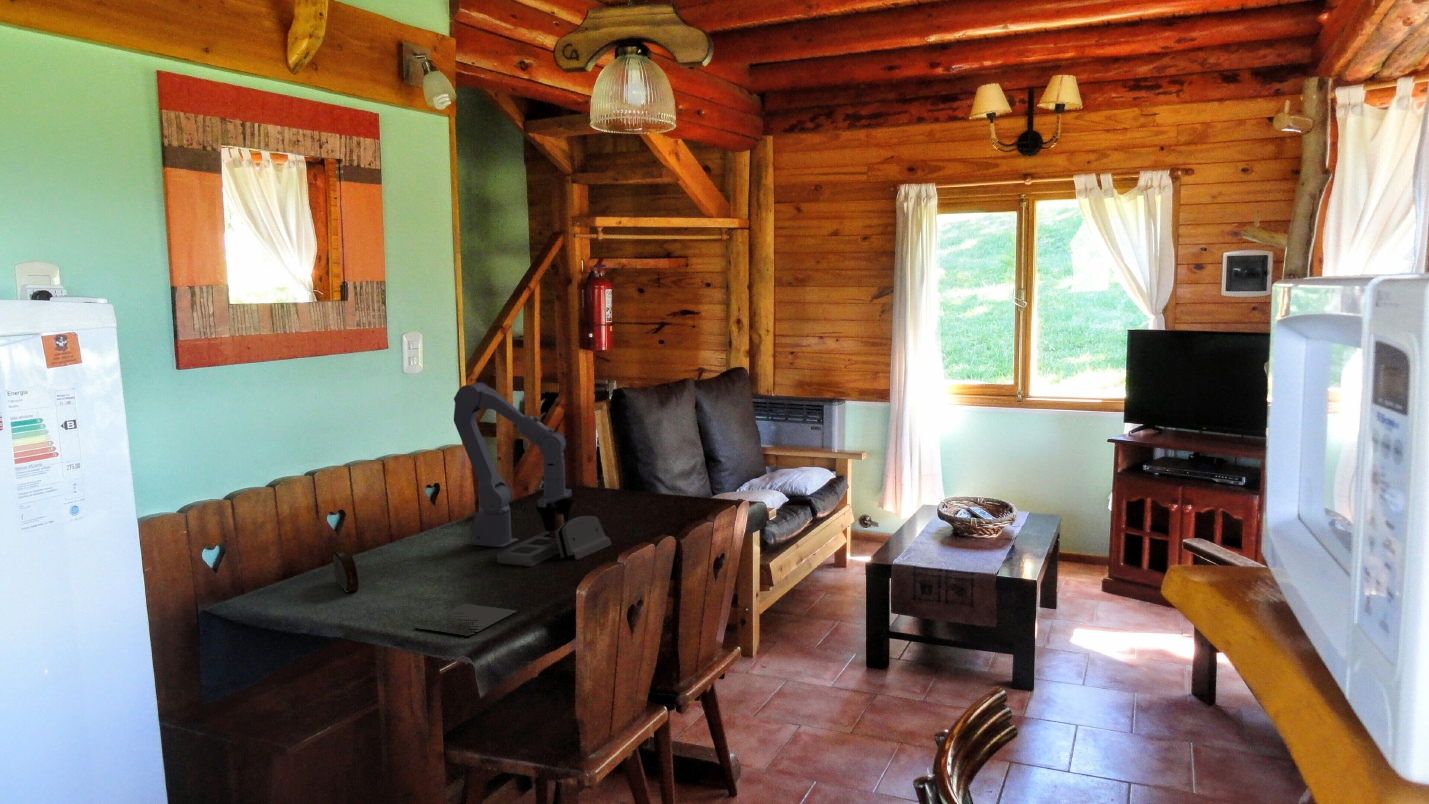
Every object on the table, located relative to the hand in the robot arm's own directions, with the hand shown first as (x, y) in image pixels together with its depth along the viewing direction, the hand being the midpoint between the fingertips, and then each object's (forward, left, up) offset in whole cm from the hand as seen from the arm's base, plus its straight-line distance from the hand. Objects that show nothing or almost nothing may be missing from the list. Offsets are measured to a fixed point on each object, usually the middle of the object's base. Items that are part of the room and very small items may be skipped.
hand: (556, 527), depth 265 cm
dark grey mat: (+9, -56, -5) cm, 57 cm away
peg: (0, 0, -4) cm, 4 cm away
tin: (-28, -49, -5) cm, 57 cm away
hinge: (+10, -4, -5) cm, 12 cm away
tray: (0, -8, -4) cm, 9 cm away
